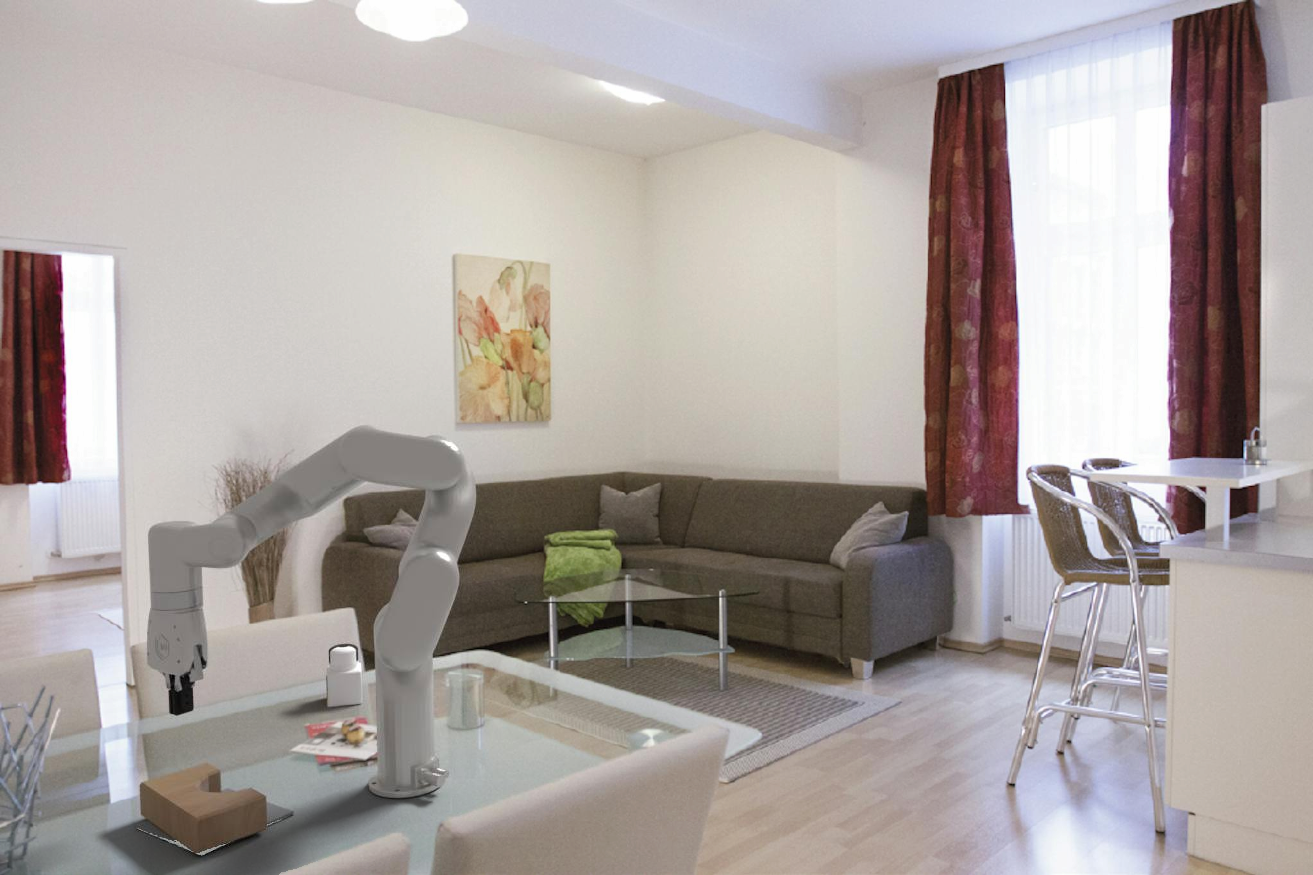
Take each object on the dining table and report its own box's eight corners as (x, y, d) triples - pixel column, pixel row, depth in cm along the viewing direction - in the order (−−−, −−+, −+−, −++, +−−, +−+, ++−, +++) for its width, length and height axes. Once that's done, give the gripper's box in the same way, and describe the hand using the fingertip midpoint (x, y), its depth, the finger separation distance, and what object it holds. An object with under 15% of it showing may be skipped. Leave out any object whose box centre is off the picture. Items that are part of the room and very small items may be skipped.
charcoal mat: (293, 814, 158) (293, 811, 158) (201, 856, 145) (201, 852, 145) (228, 791, 167) (227, 788, 167) (135, 828, 154) (135, 824, 154)
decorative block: (208, 761, 165) (267, 794, 151) (209, 795, 165) (268, 831, 152) (138, 780, 156) (194, 817, 143) (139, 816, 157) (195, 856, 143)
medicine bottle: (327, 697, 216) (326, 643, 215) (361, 693, 218) (360, 640, 217) (327, 707, 209) (325, 651, 208) (362, 704, 211) (360, 648, 210)
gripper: (127, 598, 159) (132, 711, 160) (182, 609, 151) (187, 728, 152) (171, 589, 165) (176, 698, 166) (227, 600, 157) (231, 713, 158)
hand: (181, 712), depth 159 cm, fingers closed
